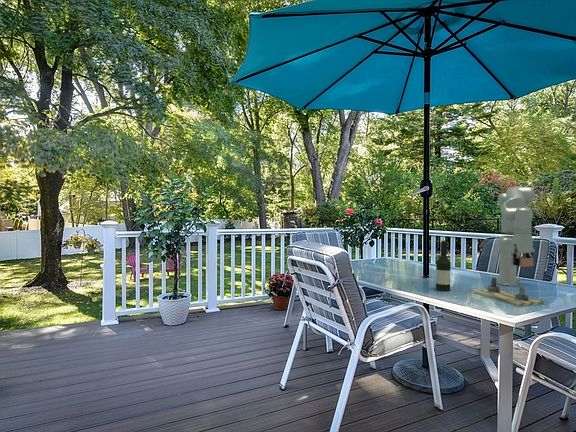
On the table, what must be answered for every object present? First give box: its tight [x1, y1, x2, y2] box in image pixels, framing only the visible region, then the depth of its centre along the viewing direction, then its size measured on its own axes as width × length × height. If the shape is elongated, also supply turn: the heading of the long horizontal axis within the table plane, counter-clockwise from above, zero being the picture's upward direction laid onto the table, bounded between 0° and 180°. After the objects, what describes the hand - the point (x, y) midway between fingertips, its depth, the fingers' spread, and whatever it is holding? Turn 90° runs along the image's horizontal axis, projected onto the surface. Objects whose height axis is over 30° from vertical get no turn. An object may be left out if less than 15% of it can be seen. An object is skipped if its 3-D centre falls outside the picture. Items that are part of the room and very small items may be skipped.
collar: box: [511, 256, 534, 268], centre depth 195 cm, size 7×7×4 cm
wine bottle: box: [435, 240, 452, 293], centre depth 222 cm, size 8×8×30 cm
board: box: [472, 277, 546, 307], centre depth 204 cm, size 18×30×10 cm, turn 17°
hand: (522, 264), depth 195 cm, fingers closed on collar, 7 cm apart
